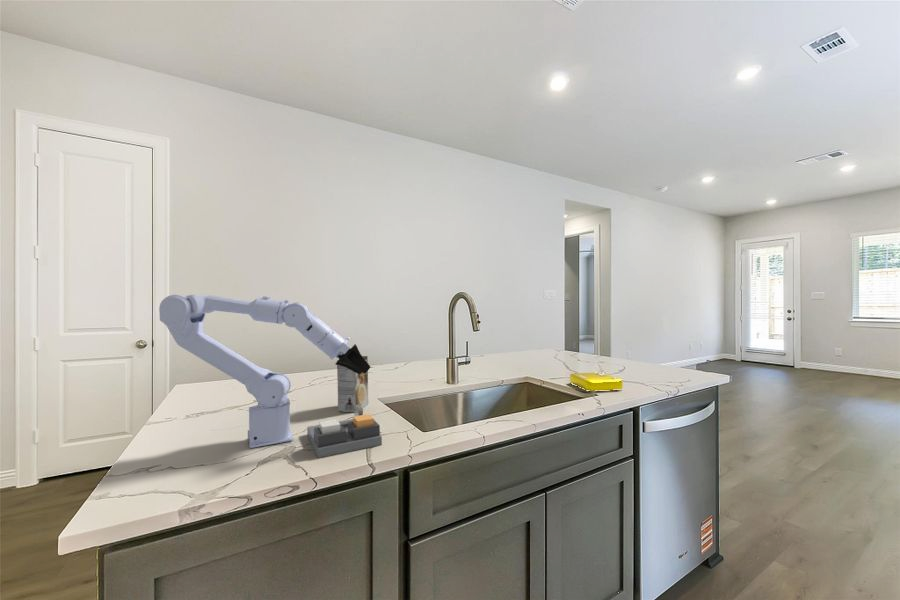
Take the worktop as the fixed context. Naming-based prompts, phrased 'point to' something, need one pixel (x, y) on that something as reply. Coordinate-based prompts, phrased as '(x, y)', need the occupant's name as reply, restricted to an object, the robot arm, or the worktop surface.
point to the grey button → (329, 426)
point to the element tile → (596, 381)
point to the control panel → (344, 438)
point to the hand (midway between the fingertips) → (365, 371)
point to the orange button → (363, 420)
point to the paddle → (358, 410)
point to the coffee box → (351, 388)
